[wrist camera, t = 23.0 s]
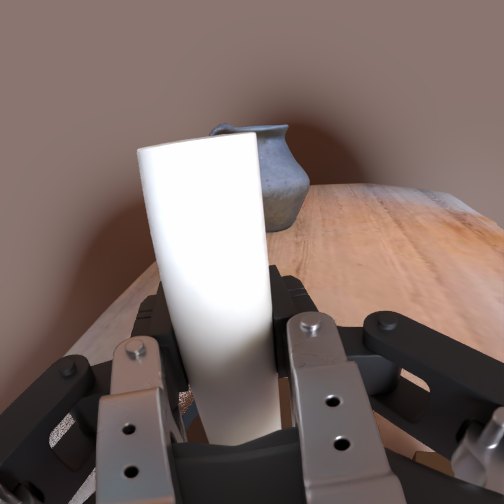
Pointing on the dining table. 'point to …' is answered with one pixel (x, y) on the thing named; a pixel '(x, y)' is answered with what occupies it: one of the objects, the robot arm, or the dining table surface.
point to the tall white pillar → (217, 282)
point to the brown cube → (434, 461)
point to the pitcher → (275, 175)
